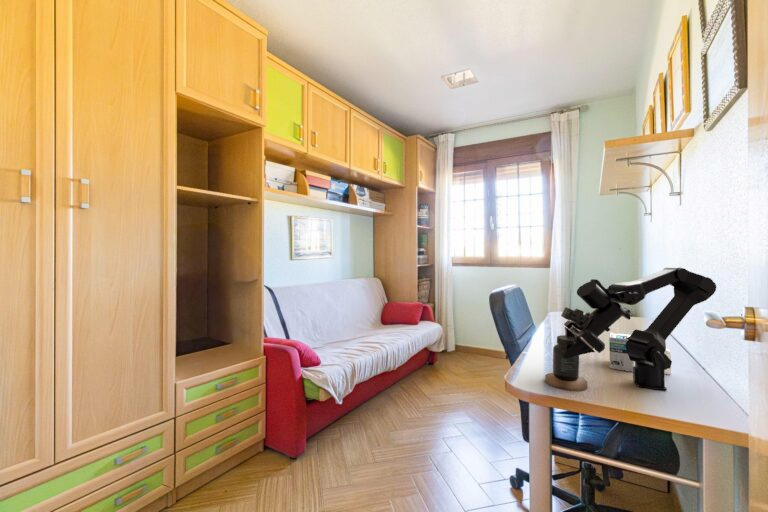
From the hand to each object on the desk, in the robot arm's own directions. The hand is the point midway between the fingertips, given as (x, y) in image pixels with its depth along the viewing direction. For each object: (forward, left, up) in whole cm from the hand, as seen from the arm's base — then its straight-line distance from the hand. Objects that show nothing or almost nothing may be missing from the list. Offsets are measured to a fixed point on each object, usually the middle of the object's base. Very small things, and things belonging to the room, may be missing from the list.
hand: (560, 353), depth 98 cm
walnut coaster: (-1, 0, -9) cm, 9 cm away
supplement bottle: (-1, -1, -7) cm, 7 cm away
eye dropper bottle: (-29, -26, -9) cm, 40 cm away
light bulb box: (-19, -28, -9) cm, 35 cm away
